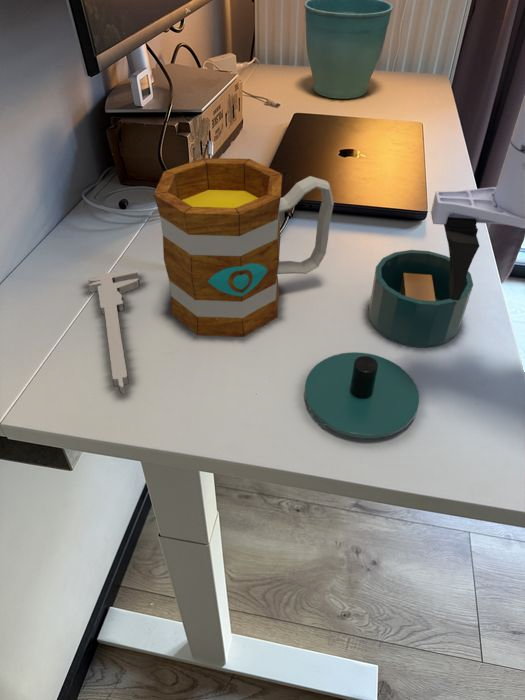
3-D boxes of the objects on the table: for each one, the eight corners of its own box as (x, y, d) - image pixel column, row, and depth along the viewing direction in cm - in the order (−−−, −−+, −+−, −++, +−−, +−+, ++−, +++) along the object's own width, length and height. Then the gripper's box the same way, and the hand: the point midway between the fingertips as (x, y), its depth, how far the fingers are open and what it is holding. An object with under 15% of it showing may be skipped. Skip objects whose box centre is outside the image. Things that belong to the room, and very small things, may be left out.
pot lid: (413, 364, 57) (421, 330, 54) (421, 448, 49) (432, 414, 46) (308, 355, 58) (311, 321, 55) (299, 435, 50) (302, 401, 47)
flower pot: (380, 81, 128) (392, -4, 116) (381, 107, 115) (394, 14, 103) (304, 77, 130) (308, -6, 119) (296, 102, 117) (300, 11, 105)
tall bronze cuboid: (425, 299, 64) (431, 274, 62) (430, 334, 60) (437, 309, 57) (398, 296, 65) (403, 272, 62) (401, 331, 60) (406, 306, 58)
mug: (184, 350, 59) (167, 227, 48) (159, 281, 68) (141, 166, 58) (348, 312, 63) (364, 193, 53) (304, 253, 73) (311, 142, 63)
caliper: (141, 277, 69) (91, 280, 68) (140, 270, 68) (89, 273, 68) (127, 393, 54) (63, 398, 53) (125, 386, 53) (60, 391, 53)
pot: (453, 294, 66) (465, 253, 62) (464, 351, 58) (479, 308, 54) (368, 288, 67) (375, 247, 63) (369, 342, 59) (376, 299, 55)
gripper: (638, 130, 41) (570, 277, 50) (443, 121, 43) (412, 266, 52) (677, 169, 36) (594, 325, 45) (454, 157, 38) (417, 311, 47)
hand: (497, 297), depth 48 cm, fingers open, 7 cm apart
